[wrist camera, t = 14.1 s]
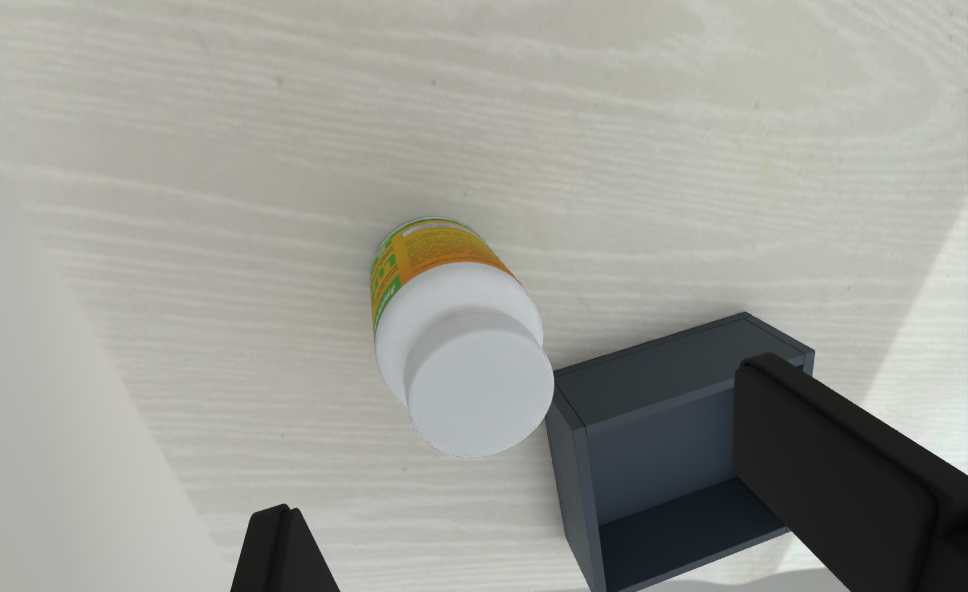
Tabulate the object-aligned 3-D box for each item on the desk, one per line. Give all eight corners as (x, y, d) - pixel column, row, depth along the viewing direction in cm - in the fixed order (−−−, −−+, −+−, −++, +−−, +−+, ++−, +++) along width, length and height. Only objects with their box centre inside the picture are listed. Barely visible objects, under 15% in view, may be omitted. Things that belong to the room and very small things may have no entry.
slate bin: (565, 537, 30) (598, 606, 26) (537, 376, 25) (572, 431, 21) (739, 474, 32) (795, 530, 28) (746, 311, 27) (816, 350, 22)
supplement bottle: (366, 214, 20) (373, 310, 11) (493, 213, 21) (591, 297, 12) (372, 333, 22) (383, 493, 13) (488, 325, 23) (568, 466, 14)
